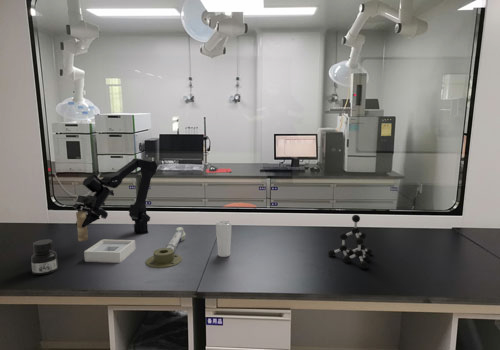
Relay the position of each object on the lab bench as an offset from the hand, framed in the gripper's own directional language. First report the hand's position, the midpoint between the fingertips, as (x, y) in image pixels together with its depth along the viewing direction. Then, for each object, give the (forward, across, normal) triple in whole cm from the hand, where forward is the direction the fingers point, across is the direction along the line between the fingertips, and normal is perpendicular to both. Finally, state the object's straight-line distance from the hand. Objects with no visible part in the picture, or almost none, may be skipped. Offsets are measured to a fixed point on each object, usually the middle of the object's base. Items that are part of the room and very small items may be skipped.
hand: (79, 226), depth 157 cm
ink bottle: (+23, +7, -5) cm, 24 cm away
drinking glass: (-13, +58, +30) cm, 67 cm away
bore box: (+5, +15, +12) cm, 20 cm away
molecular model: (-32, +110, +50) cm, 125 cm away
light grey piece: (-11, +31, +29) cm, 44 cm away
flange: (0, +40, +18) cm, 43 cm away
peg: (+4, 0, +6) cm, 7 cm away
